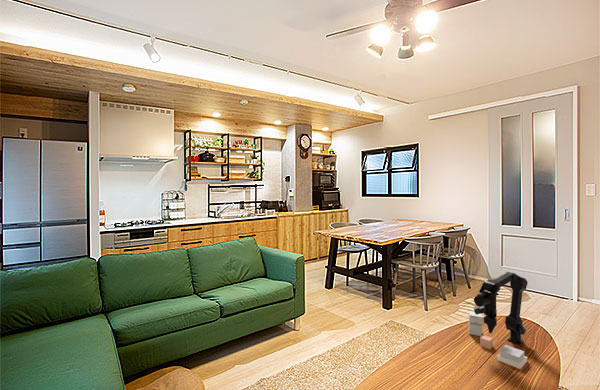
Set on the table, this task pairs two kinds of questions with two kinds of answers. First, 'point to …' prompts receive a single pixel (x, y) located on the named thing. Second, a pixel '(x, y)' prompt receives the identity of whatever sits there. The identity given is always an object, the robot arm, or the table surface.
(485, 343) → the cube
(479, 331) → the supplement box
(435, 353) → the table surface
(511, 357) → the tower top
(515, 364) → the tower base
